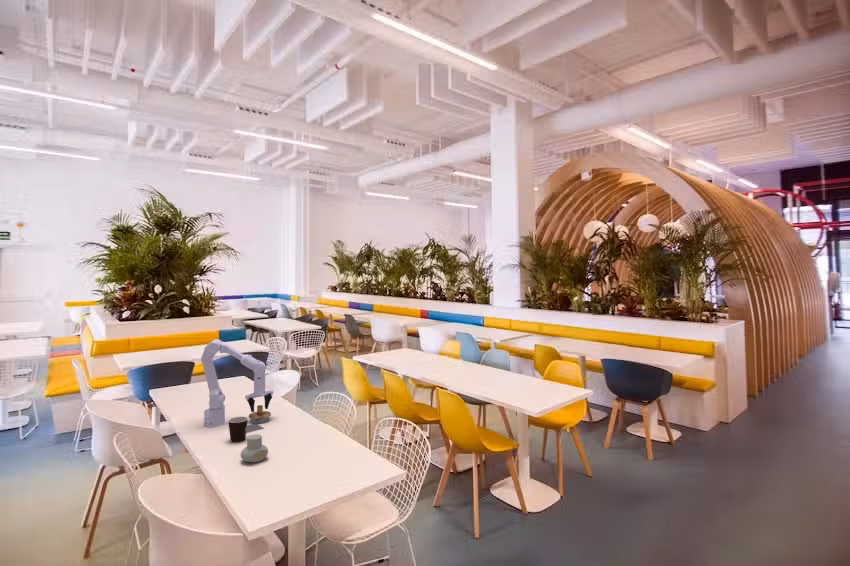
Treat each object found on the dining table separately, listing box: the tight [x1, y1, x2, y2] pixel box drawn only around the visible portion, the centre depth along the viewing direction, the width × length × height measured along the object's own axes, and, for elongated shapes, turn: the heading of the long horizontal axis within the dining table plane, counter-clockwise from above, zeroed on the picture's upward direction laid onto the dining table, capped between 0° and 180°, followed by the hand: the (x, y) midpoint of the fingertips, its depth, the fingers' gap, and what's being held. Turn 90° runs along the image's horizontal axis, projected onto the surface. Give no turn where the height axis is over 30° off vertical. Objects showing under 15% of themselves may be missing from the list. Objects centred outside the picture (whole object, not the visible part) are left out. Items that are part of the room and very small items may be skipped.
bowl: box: [249, 416, 270, 424], centre depth 236 cm, size 9×9×3 cm
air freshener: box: [240, 433, 269, 464], centre depth 187 cm, size 11×8×10 cm
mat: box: [246, 423, 265, 434], centre depth 224 cm, size 10×10×1 cm
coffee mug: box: [227, 416, 249, 443], centre depth 210 cm, size 12×9×10 cm
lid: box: [248, 404, 272, 419], centre depth 235 cm, size 11×11×5 cm
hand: (259, 410), depth 236 cm, fingers open, 7 cm apart
